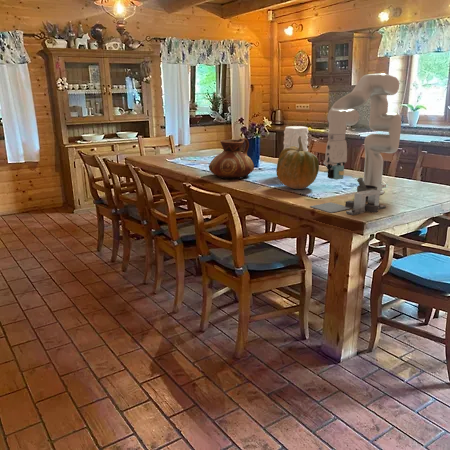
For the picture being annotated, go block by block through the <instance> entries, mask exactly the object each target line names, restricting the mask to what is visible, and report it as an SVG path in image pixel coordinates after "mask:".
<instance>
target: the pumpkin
mask: <svg viewBox="0 0 450 450" xmlns="http://www.w3.org/2000/svg"><path fill="white" fill-rule="evenodd" d="M298 143H299V148H297V147H295V146H291V147H288V148H285V149H284V148H283V149H284V150H283V149H282V150H281V152H280V153H279V156H278V160H277V164H276V169H275V170H276V172H275V173H276V176H277V179H278V181H279V182H280V183H281V184H282V185H284V186H285V187H287V188H290V189H294V190H302V189H303V190H304V189H307V188H308V187H309V186H311V184H312V185H313V183H314V182H315V180H316V178H317V177H318V174H319V169H320V163H319V159H318V157H317V156H316V155H315V154H314V153H311V152H310V151H309V150H308V151H304V150H303V146H302V142H301V136H299V138H298Z"/></svg>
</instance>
